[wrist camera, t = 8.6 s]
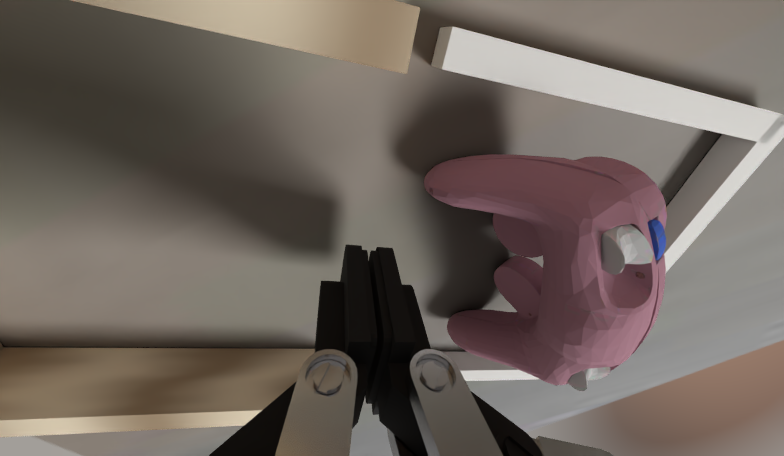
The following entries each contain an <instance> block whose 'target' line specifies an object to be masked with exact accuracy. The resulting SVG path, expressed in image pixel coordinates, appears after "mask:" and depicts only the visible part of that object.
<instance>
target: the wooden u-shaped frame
mask: <svg viewBox="0 0 784 456" xmlns="http://www.w3.org/2000/svg"><path fill="white" fill-rule="evenodd" d="M71 1H76V2H80V3H85V4H89V5H94V6H98V7H103V8H108V9H112V10H117V11H121V12H126V13H130V14H135V15H139V16H144V17H149V18H153V19H158V20H162V21H167V22H171V23H176V24H180V25H185V26H190V27H194V28H199V29H203V30H208V31H212V32H217V33H221V34H226V35H231V36H235V37H240V38H244V39H249V40H253V41H258V42H262V43H267V44H272V45H276V46H281V47H285V48H290V49H294V50H299V51H303V52H308V53H313V54H317V55H322V56H326V57H331V58H335V59H340V60H344V61H349V62H354V63H358V64H363V65H367V66H372V67H376V68H381V69H385V70H390V71H395V72H399V73H404V74H407V71H408V66H409V61H410V56H411V51H412V46H413V41H414V36H415V32H416V27H417V22H418V17H419V12H420V7H417V6H413V5H409V4H406V3H402V2H398V1H395V0H71ZM314 353H315V349H248V348H13V347H3V345H2V344H1V343H0V437H17V436H38V435H58V434H78V433H99V432H119V431H139V430H160V429H180V428H200V427H221V426H241V425H245V424H247V423H248V422H249V421H250V420H251V419H253V418H254V417H255V416H256V415H257V414H258V413H260V412H261V411H262V410H263V409H264V408H266V407H267V406H268V405H269V404H270V403H271V402H273V401H274V400H275V399H276V398H277V397H278V396H280V395H281V394H282V393H283V392H284V391H286V390H287V389H288V388H289V387H290V386H291V385H293V384H294V383H295V382H296V381H297V378H298V374H299V371H300V369H301V367H302V365H303V363H304V362H305V360H306V359H307V358H308V357H309V356H311V355H312V354H314Z"/></svg>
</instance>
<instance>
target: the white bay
mask: <svg viewBox="0 0 784 456" xmlns="http://www.w3.org/2000/svg"><path fill="white" fill-rule="evenodd" d="M431 66H433V67H436V68H439V69H443V70H447V71H451V72H456V73H460V74H464V75H469V76H473V77H477V78H482V79H486V80H491V81H495V82H499V83H504V84H508V85H512V86H517V87H521V88H525V89H530V90H534V91H538V92H543V93H547V94H551V95H556V96H560V97H565V98H569V99H573V100H578V101H582V102H586V103H591V104H595V105H599V106H604V107H608V108H612V109H617V110H621V111H625V112H630V113H634V114H639V115H643V116H647V117H652V118H656V119H660V120H665V121H669V122H673V123H678V124H682V125H686V126H691V127H695V128H700V129H704V130H708V131H713V132H717V133H721V134H722V135H721V136H720V138H719V139H718V140H717V142H716V143H715V144H714V145H713V147H712V148H711V149H710V151H709V152H708V153H707V155H706V156H705V157H704V159H703V160H702V161H701V163H700V164H699V165H698V167H697V168H696V169H695V170H694V172H693V173H692V174H691V176H690V177H689V178H688V180H687V181H686V182H685V184H684V185H683V186H682V188H681V189H680V190H679V192H678V193H677V194H676V195H675V197H674V198H673V199H672V201H671V202H670V203H669V205H668V206H667V207H666V210H667V219H666V225H665V229H664V231H665V236H666V247H665V250H664V256H665V266H666V272H667V271H668V270H669V269H670V267H671V266H672V265H673V264H674V263H675V262H676V261H677V259H678V258H679V257H680V256H681V255H682V254H683V252H684V251H685V250H686V249H687V248H688V247H689V246H690V244H691V243H692V242H693V241H694V240H695V239H696V238H697V236H698V235H699V234H700V233H701V232H702V231H703V229H704V228H705V227H706V226H707V225H708V224H709V223H710V221H711V220H712V219H713V218H714V217H715V216H716V215H717V213H718V212H719V211H720V210H721V209H722V208H723V206H724V205H725V204H726V203H727V202H728V201H729V200H730V198H731V197H732V196H733V195H734V194H735V193H736V192H737V190H738V189H739V188H740V187H741V186H742V185H743V183H744V182H745V181H746V180H747V179H748V178H749V177H750V175H751V174H752V173H753V172H754V171H755V170H756V169H757V167H758V166H759V165H760V164H761V163H762V162H763V160H764V159H765V158H766V157H767V156H768V155H769V154H770V152H771V151H772V150H773V149H774V148H775V147H776V146H777V144H778V143H779V142H780V141H781V140H782V139H783V137H784V115H783V114H780V113H776V112H772V111H768V110H765V109H761V108H757V107H753V106H750V105H746V104H742V103H738V102H735V101H731V100H727V99H723V98H720V97H716V96H712V95H708V94H705V93H701V92H697V91H693V90H690V89H686V88H682V87H678V86H675V85H671V84H667V83H663V82H659V81H656V80H652V79H648V78H644V77H641V76H637V75H633V74H629V73H626V72H622V71H618V70H614V69H611V68H607V67H603V66H599V65H596V64H592V63H588V62H584V61H581V60H577V59H573V58H569V57H566V56H562V55H558V54H554V53H551V52H547V51H543V50H539V49H536V48H532V47H528V46H524V45H521V44H517V43H513V42H509V41H506V40H502V39H498V38H494V37H491V36H487V35H483V34H479V33H476V32H472V31H468V30H464V29H461V28H457V27H453V26H452V27H442V28H440V30H439V34H438V39H437V43H436V47H435V51H434V55H433V60H432V64H431ZM666 272H665V273H666ZM443 353H445V354H446V355H448V356H449V357H450V358H451V359H452V360H453V361H454V362H455V363H456V365H457V366H458V368H459V370H460V372H461V373H462V375H463V377H464V379H465V381H483V380H529V379H539V378H537V377H534V376H532V375H530V374H528V373H525V372H523V371H520V370H518V369H516V368H513V367H511V366H507V365H504V364H501V363H498V362H494V361H491V360H488V359H484V358H482V357H479V356H476V355H473V354H471V353H469V352H443Z"/></svg>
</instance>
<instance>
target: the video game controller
mask: <svg viewBox="0 0 784 456" xmlns="http://www.w3.org/2000/svg"><path fill="white" fill-rule="evenodd" d="M424 186H425V189H426V190H427V192H428V193H429V194H431V195H432V196H433V197H434V198H436V199H437V200H440V201H442V202H444V203H446V204H449V205H451V206H454V207H461V208H467V209H474V210H480V211H485V212H491V213H494V215H493V227H494V230H495V232H496V235H497V237H498V238H499V240H500V241H501V243H502V244H503V245H504V246H505V247H506V248H507V249H509V250H510V251H512V252H513V253H515V254H517V255H520V256H514V257H511V258H510V259H508V260H507V261H506V262H504V263H503V264H502V265H501V266H500V267H498V268H497V269H496V271H495V273H494V281H495V284H496V286H497V288H498V290H499V292H500V293H501V294H502V295H503V296H504V298H505V299H506V300H507V301H508V302H509V303H510V304H511V305H512V306H513V307H514V308H515V309H516V310H517V312H503V311H495V310H482V309H481V310H467V311H462V312H459V313H456V314H454V315H452V316H451V318H450V319H449V321H448V325H447V330H448V333H449V335H450V337H451V338H452V340H453V341H454V342H455V343H456V344H457V345H458V346H459V347H461V348H462V349H464V350H465V351H467V352H469V353H471V354H473V355H476V356H479V357H482V358H484V359H488V360H491V361H494V362H498V363H501V364H504V365H507V366H511V367H513V368H516V369H518V370H520V371H523V372H525V373H528V374H530V375H532V376H534V377H537V378H539V379H541V380H543V381H545V382H548V383H551V384H554V385H564V384H570V385H571V386H572V387H573V388H575V389H577V390H579V391H585V390H586V389H587V384H588V380H596V379H600V378H603V377H605V376H607V375H609V373H610V371H611V370H613V369H614V368H616V367H617V366H619V365H620V364H622V363H623V362H624V361H626V360H627V359H628V358H629V357H630V356H631V355H632V354H633V353H634V352H635V351H636V349H637V348H638V347H639V345H640V344H641V343H642V342H643V340H644V339H645V338H646V337H647V335H648V333H649V332H650V330H651V328H652V327H653V325H654V323H655V321H656V318H657V315H658V312H659V309H660V306H661V302H662V299H663V293H664V286H665V272H666V266H665V256H664V250H665V247H666V236H665V231H664V229H665V225H666V219H667V210H666V204H665V200H664V197H663V195H662V193H661V191H660V190H659V188H658V187H657V185H656V183H655V182H653V181H652V180H651V179H650V178H649V177H648V176H647V175H646V174H645V173H644V172H642V171H641V170H639V169H638V168H636V167H634V166H632V165H630V164H628V163H625V162H623V161H619V160H616V159H612V158H605V157H585V158H581V159H578V160H569V159H565V158H553V157H539V156H525V155H495V154H490V155H478V156H468V157H463V158H457V159H452V160H448V161H445V162H443V163H440V164H437V165H435V166H434V167H433V168H432V169H431V170H430V171H429V172H428V173H427V175H426V176H425V179H424ZM542 255H543V260H544V264H543V268H542V267H541V266H540V265H538V264H537V263H536V262H534V261H532V260H530V259H528V258H525V257H530V258H533V257H539V256H542ZM522 256H523V257H522Z"/></svg>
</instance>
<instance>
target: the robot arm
mask: <svg viewBox="0 0 784 456" xmlns="http://www.w3.org/2000/svg"><path fill="white" fill-rule="evenodd" d="M364 397H365V398H366V403H367V404H370V403H372V412H373V415H375V414H379V419H380V422H381V423H383V424H384V425H385V426H386V427H387V431H388V438H389V442H390V446H391V450H392V454H393V456H613V455H612V454H611V453H609V452H607V451H604V450H602V449H598V448H593V447H588V446H583V445H578V444H574V443H569V442H564V441H559V440H555V439H550V438H546V437H541V436H538V437H537V438H536V439H533V438H531V437H530V436H529V435H528V434H527V433H526V432H524V431H523V430H522V429H520V428H519V427H518V426H516V425H515V424H514V423H512V422H511V421H510V420H508V419H507V418H506V417H504V416H503V415H502V414H501V413H499V412H498V411H497V410H495V409H494V408H493V407H491V406H490V405H489V404H487V403H486V402H485V401H483V400H482V399H481V398H479V397H478V396H477V395H475V394H474V393H473V392H471V391H470V389H469V387H468V385H467V383H466V381H465V379H464V377H463V375H462V373H461V372H460V370H459V368H458V366H457V365H456V363H455V362H454V361H453V360H452V359H451V358H450V357H449V356H448V355H446V354H445V353H443V352H441V351H438V350H434V349H431V348H430V344H429V341H428V338H427V334H426V331H425V327H424V324H423V320H422V317H421V313H420V310H419V306H418V303H417V299H416V296H415V293H414V289H413V287H412V286H411V285H402V284H401V280H400V276H399V272H398V267H397V263H396V259H395V255H394V251H393V249H392V248H383V247H377V249H376V251H371V252H370V257H369V262H368V253H367V250H362V246H357V245H346V246H345V253H344V260H343V267H342V274H341V280H340V282H336V281H321V286H320V296H319V307H318V318H317V330H316V342H315V353H314V354H312V355H311V356H309V357H308V358H307V359H306V360H305V362H304V363H303V365H302V367H301V369H300V371H299V374H298V378H297V381H296V382H295V383H294V384H293V385H291V386H290V387H289V388H288V389H287V390H286V391H284V392H283V393H282V394H281V395H280V396H278V397H277V398H276V399H275V400H274V401H273V402H271V403H270V404H269V405H268V406H267V407H266V408H264V409H263V410H262V411H261V412H260V413H258V414H257V415H256V416H255V417H254V418H253V419H251V420H250V421H249V422H248V423H247V424H245V425H244V426H243V427H242V428H241V429H240V430H238V431H237V432H236V433H235V434H234V435H232V436H231V437H230V438H229V439H228V440H227V441H225V442H224V443H223V444H222V445H221V446H219V447H218V448H217V449H216V450H215V451H214V452H212V453H211V454H210V455H209V456H349V453H350V444H351V434H352V428H353V427H354V426H355V425H356V424H357V423H358V420H359V416H360V412H361V408H362V405H363V401H364Z"/></svg>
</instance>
